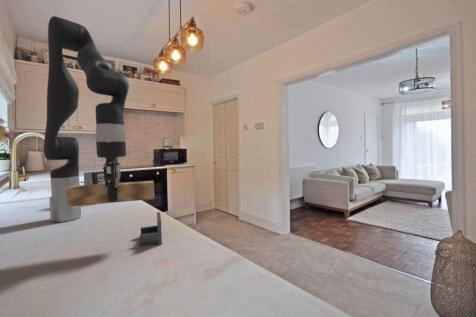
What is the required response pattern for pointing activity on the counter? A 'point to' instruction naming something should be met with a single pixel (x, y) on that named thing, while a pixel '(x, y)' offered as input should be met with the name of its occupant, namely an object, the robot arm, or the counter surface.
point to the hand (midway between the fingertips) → (114, 199)
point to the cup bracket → (151, 233)
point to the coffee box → (94, 178)
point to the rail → (100, 193)
